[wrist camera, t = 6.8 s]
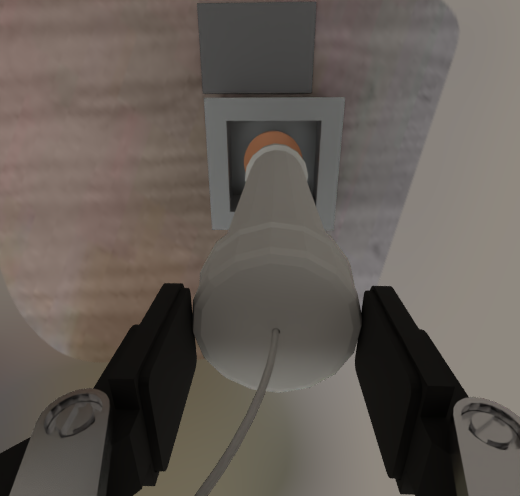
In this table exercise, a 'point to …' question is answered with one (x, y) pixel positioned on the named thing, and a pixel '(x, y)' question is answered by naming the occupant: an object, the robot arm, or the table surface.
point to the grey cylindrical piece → (275, 292)
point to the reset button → (269, 143)
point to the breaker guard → (272, 119)
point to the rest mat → (257, 47)
